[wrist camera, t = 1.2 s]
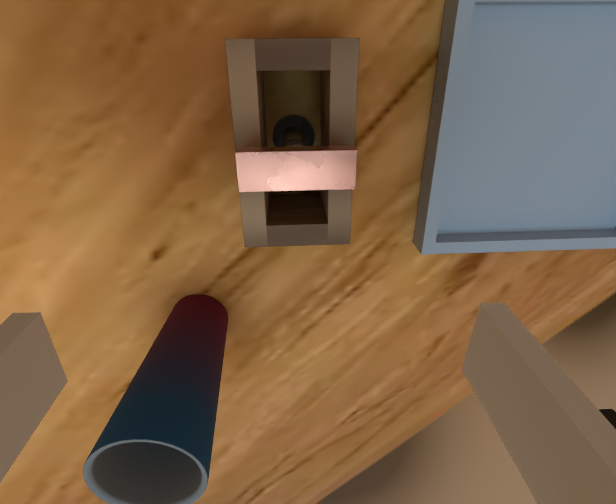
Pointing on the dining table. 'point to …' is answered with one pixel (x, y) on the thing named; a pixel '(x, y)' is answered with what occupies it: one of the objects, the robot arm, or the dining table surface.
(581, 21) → the tray
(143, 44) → the dining table surface
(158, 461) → the cup
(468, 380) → the robot arm
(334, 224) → the brown hollow block
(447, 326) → the dining table surface
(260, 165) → the mallet
